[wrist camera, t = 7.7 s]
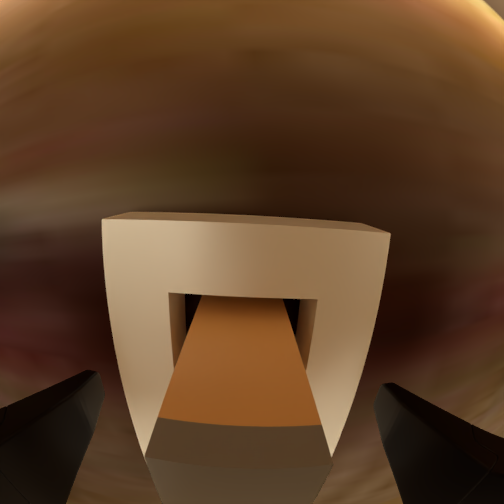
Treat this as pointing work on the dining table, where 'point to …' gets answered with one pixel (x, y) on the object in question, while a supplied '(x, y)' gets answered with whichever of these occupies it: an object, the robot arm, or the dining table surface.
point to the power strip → (241, 285)
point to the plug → (239, 412)
